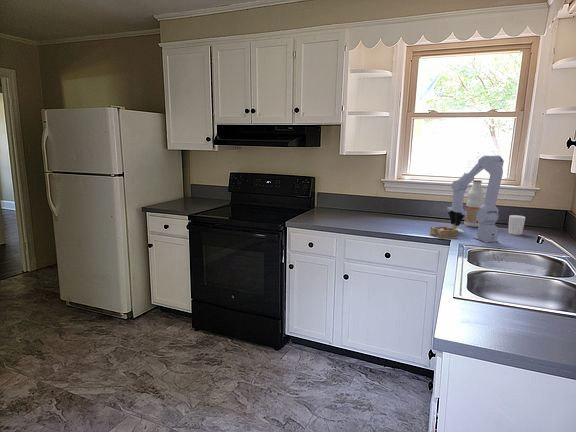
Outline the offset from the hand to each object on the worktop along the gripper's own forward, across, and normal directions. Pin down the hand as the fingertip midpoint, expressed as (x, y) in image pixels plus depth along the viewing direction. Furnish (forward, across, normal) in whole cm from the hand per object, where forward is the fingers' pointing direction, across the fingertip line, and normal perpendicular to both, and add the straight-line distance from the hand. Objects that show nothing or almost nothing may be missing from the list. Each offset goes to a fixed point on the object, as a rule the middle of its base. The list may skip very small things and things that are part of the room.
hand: (455, 224), depth 231 cm
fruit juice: (+3, +10, -20) cm, 23 cm away
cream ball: (+1, -9, +15) cm, 18 cm away
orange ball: (+1, -13, +15) cm, 20 cm away
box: (+3, -11, +15) cm, 19 cm away
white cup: (+3, -13, -30) cm, 33 cm away
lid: (+4, 0, 0) cm, 4 cm away
